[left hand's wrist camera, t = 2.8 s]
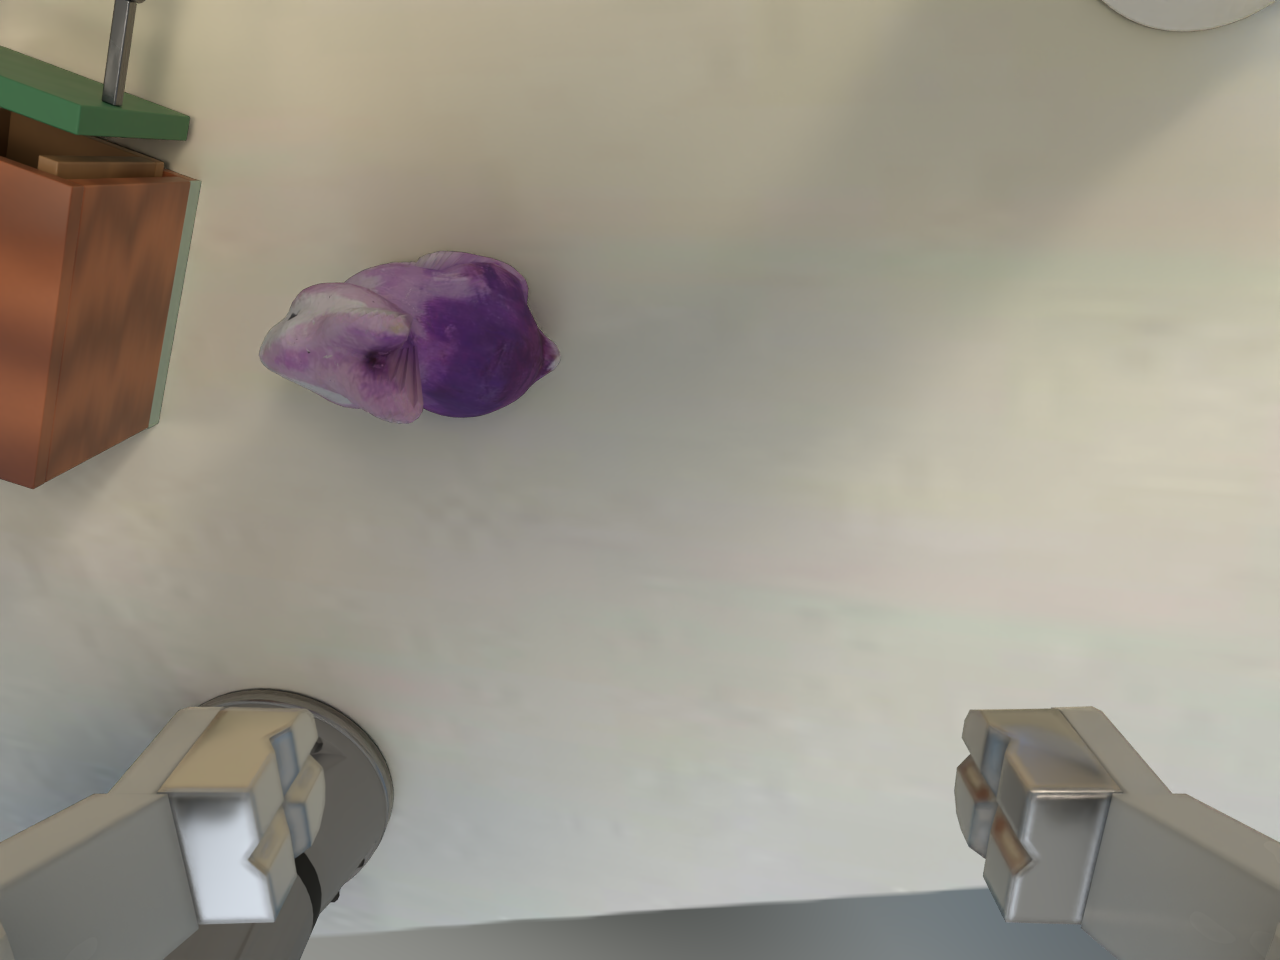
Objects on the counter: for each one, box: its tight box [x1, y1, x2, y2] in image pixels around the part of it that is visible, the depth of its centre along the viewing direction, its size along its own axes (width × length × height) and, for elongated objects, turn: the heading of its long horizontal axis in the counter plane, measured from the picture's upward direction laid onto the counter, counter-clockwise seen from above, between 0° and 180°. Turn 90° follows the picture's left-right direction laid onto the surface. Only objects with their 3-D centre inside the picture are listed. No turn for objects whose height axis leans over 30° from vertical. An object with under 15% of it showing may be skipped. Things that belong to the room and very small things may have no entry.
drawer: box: [0, 0, 190, 180], centre depth 39 cm, size 18×9×9 cm, turn 160°
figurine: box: [259, 251, 561, 424], centre depth 39 cm, size 9×10×15 cm
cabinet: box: [0, 156, 201, 489], centre depth 41 cm, size 14×10×11 cm
